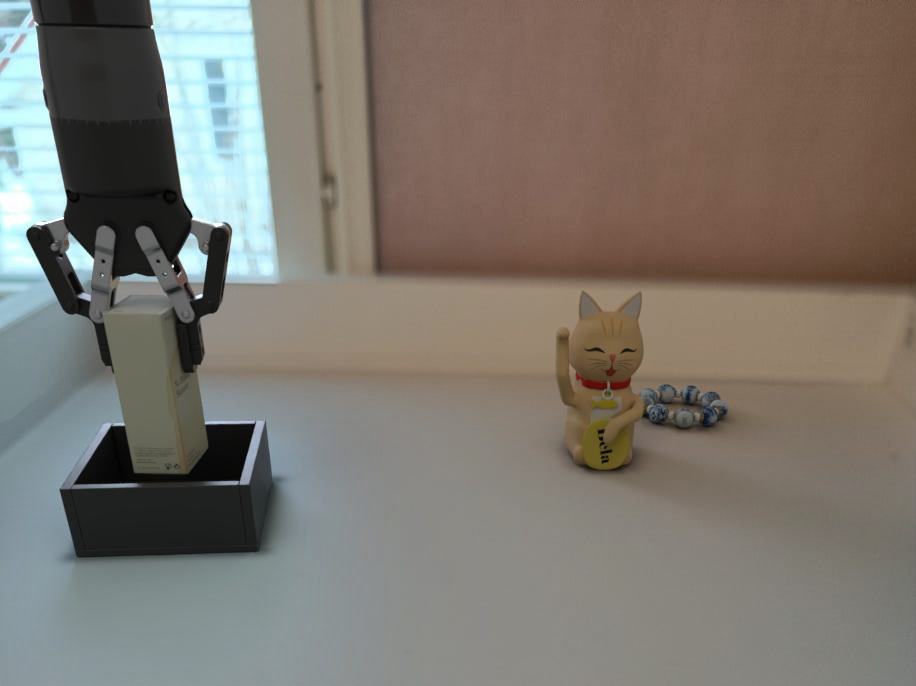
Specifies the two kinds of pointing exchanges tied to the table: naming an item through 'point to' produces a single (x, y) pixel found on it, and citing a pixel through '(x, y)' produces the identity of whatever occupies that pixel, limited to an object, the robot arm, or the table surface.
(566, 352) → the figurine
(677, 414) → the bracelet
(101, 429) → the dark grey open box
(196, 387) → the cosmetic box
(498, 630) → the table surface
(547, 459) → the table surface
